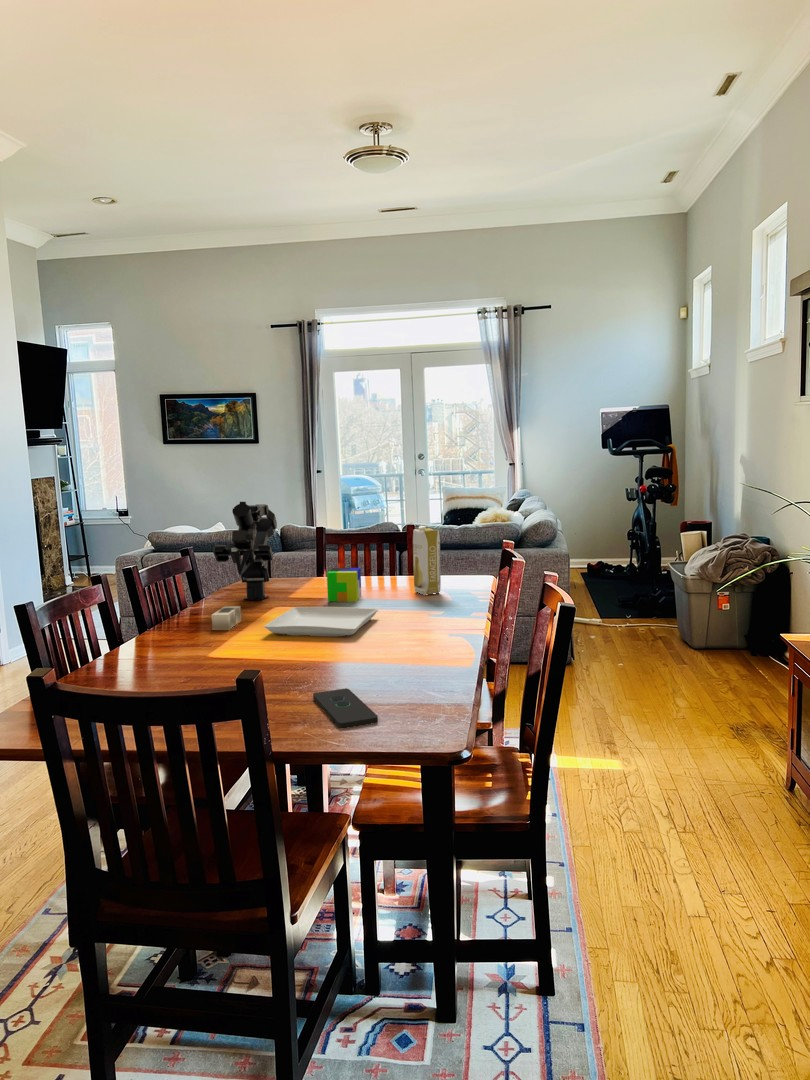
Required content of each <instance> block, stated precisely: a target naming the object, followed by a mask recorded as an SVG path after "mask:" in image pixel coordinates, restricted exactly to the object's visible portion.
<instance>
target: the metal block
mask: <svg viewBox="0 0 810 1080" xmlns="http://www.w3.org/2000/svg"><path fill="white" fill-rule="evenodd" d="M241 607H242V606H241V605H224V606H223V607H221V608H220V609H218V610H217V611H215V612H214V613H212V614H211V627H212V629H211V630H229V631H231V630H232V629H233V628H234V627H233V626H235V625H236V624H237V623H238V622H240V621H241V622H242V609H241ZM241 622H240V623H241ZM237 625H238V624H237ZM237 625H236V626H237ZM236 626H235V627H236ZM232 627H233V628H232ZM231 628H232V629H231ZM230 629H231V630H230Z"/></svg>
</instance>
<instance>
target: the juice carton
mask: <svg viewBox="0 0 810 1080" xmlns="http://www.w3.org/2000/svg"><path fill="white" fill-rule="evenodd" d="M412 532H413V533H412V556H413V559H412V560H413V561H412V562H413V585H414V586H413V587H414V592H415V593H416V592H418V593H417V594H419V593H420V595H422V594H423V595H422V596H425V595H426V594H433V593H439V592H440V593H441V587H442V584H441V583H442V582H441V580H442V579H441V537H440V531H439V529H433V528H429V527H427V526H426V525H420V526H418V528H415V529H413V531H412ZM426 596H427V595H426Z"/></svg>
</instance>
